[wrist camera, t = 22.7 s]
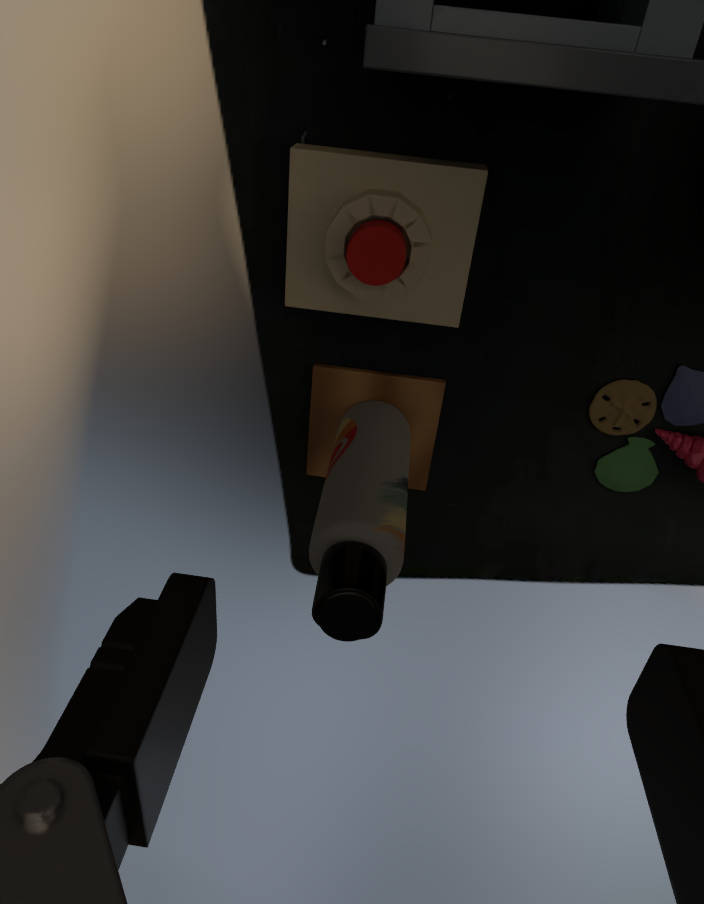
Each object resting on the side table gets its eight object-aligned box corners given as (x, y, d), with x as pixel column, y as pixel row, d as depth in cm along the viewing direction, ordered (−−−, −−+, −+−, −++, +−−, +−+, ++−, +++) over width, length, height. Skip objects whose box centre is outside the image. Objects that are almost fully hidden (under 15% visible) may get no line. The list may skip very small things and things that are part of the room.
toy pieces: (775, 370, 45) (805, 399, 42) (722, 497, 52) (744, 533, 48) (601, 358, 46) (615, 386, 43) (568, 485, 52) (579, 518, 49)
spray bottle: (326, 441, 52) (276, 633, 35) (358, 386, 49) (320, 566, 32) (389, 471, 53) (369, 672, 36) (424, 419, 50) (420, 610, 33)
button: (346, 274, 41) (343, 282, 40) (351, 216, 39) (348, 222, 38) (402, 280, 41) (401, 289, 40) (410, 222, 39) (409, 230, 38)
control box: (290, 295, 46) (279, 315, 43) (296, 142, 41) (284, 152, 38) (457, 316, 46) (459, 338, 42) (485, 164, 40) (490, 175, 37)
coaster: (307, 470, 54) (306, 474, 54) (314, 362, 49) (312, 366, 48) (425, 486, 54) (425, 491, 53) (445, 379, 49) (445, 383, 48)
